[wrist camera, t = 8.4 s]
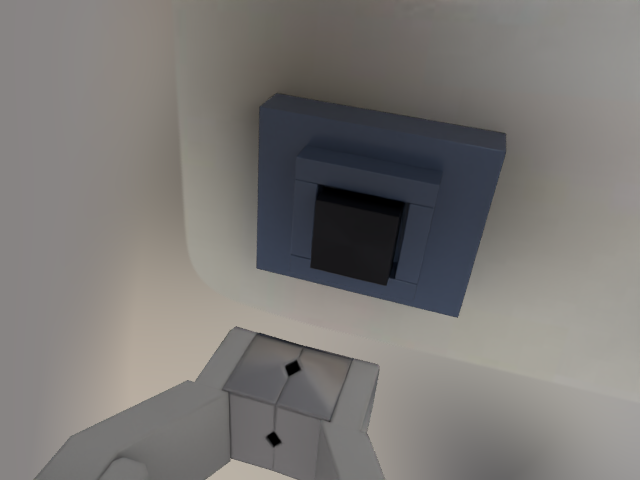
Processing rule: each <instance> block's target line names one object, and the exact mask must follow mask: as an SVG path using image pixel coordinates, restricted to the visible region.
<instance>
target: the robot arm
mask: <svg viewBox="0 0 640 480" xmlns="http://www.w3.org/2000/svg"><path fill="white" fill-rule="evenodd" d="M378 375H379V365H378V364H374V363H370V362H366V361H362V360H358V359H354V358H350V357H346V356H342V355H339V354H335V353H331V352H327V351H323V350H319V349H315V348H311V347H307V346H303V345H299V344H296V343H292V342H289V341H286V340H282V339H279V338H276V337H272V336H269V335H265V334H262V333H257V332H253V331H250V330H247V329H243V328H240V327H237V326H236V327H234V328H233V329H232V330H230V331H229V333H228V334H227V336H226V337H225V339H224V340H223V341H222V343H221V344H220V346H219V347H218V349H217V350H216V352H215V353H214V355H213V356H212V357H211V359H210V360H209V362H208V363H207V365H206V366H205V368H204V369H203V370H202V372H201V373H200V375H199V376H198V378H197V379H196V381H195V382H192V381H188V380H187V381H185V382H183V383H181V384H179V385H177V386H175V387H172V388H171V389H168V390H166V391H164V392H162V393H160V394H158V395H156V396H154V397H152V398H150V399H148V400H145V401H143V402H141V403H139V404H137V405H135V406H133V407H131V408H129V409H127V410H125V411H123V412H120V413H118V414H116V415H114V416H112V417H110V418H108V419H106V420H104V421H102V422H99V423H97V424H95V425H93V426H91V427H89V428H87V429H85V430H83V431H81V432H79V433H77V434H75V435H72V436H71V437H70V438H69V439H68V440H67V441H66V442H65V444H64V445H63V446H62V447H61V448H60V449H59V451H58V452H57V453H56V454H55V455H54V457H53V458H52V459H51V460H50V461H49V462H48V464H47V465H46V466H45V467H44V468H43V469H42V470H41V472H40V473H39V474H38V475H37V476H36V477H35V478H34V480H205V479H207V478H208V477H209V476H211V475H212V474H214V473H215V472H216V471H218V470H219V469H220V468H222V467H223V466H224V465H226V464H227V463H228V462H230V458H231V459H235V460H238V461H242V462H245V463H249V464H252V465H255V466H259V467H262V468H266V469H269V470H272V471H275V472H278V473H281V474H283V475H286V476H289V477H292V478H295V479H297V480H385V477H384V475H383V472H382V469H381V467H380V464H379V461H378V459H377V456H376V454H375V451H374V449H373V446H372V444H371V441H370V438H369V436H368V434H367V431H368V426H369V422H370V417H371V412H372V408H373V402H374V397H375V391H376V386H377V380H378Z"/></svg>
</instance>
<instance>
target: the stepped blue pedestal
mask: <svg viewBox="0 0 640 480" xmlns="http://www.w3.org/2000/svg"><path fill="white" fill-rule="evenodd" d="M505 154H506V134H505V133H500V132H494V131H489V130H483V129H477V128H472V127H466V126H460V125H454V124H449V123H443V122H437V121H432V120H426V119H420V118H415V117H409V116H403V115H397V114H392V113H386V112H380V111H375V110H369V109H363V108H357V107H352V106H346V105H340V104H335V103H329V102H323V101H318V100H312V99H306V98H300V97H295V96H289V95H283V94H278V93H276V94H275V95H273V96H272V97H271V98H270V99H268V100H267V101H266V102H265V103H263V104H262V105H261V106H260V112H259V164H258V216H257V269H261V270H265V271H269V272H273V273H277V274H282V275H286V276H290V277H294V278H298V279H302V280H306V281H310V282H314V283H318V284H322V285H326V286H330V287H335V288H339V289H343V290H347V291H351V292H355V293H359V294H363V295H367V296H371V297H375V298H379V299H383V300H388V301H392V302H396V303H400V304H404V305H408V306H412V307H416V308H420V309H424V310H428V311H432V312H436V313H441V314H445V315H449V316H453V317H457V318H458V316H459V313H460V309H461V306H462V302H463V299H464V295H465V292H466V289H467V285H468V282H469V278H470V275H471V271H472V268H473V264H474V261H475V258H476V254H477V251H478V247H479V244H480V240H481V237H482V233H483V230H484V227H485V223H486V220H487V216H488V213H489V209H490V206H491V202H492V199H493V196H494V192H495V189H496V185H497V182H498V178H499V175H500V172H501V168H502V165H503V161H504V158H505ZM324 187H329V188H334V189H339V190H344V191H349V192H353V193H358V194H363V195H368V196H373V197H378V198H382V199H387V200H392V201H397V202H402V203H404V207H403V212H402V218H401V223H400V228H399V234H398V239H397V244H396V249H395V255H394V260H393V265H392V270H391V273H390V276H389V280H388V283H387V285H386V286H383V285H379V284H375V283H371V282H367V281H363V280H358V279H354V278H350V277H346V276H342V275H338V274H333V273H329V272H325V271H321V270H317V269H313V268H310V263H311V252H312V240H313V229H314V217H315V205H316V199H317V198H318V196H319V195H320V193H321V192H322V190H323V189H324Z"/></svg>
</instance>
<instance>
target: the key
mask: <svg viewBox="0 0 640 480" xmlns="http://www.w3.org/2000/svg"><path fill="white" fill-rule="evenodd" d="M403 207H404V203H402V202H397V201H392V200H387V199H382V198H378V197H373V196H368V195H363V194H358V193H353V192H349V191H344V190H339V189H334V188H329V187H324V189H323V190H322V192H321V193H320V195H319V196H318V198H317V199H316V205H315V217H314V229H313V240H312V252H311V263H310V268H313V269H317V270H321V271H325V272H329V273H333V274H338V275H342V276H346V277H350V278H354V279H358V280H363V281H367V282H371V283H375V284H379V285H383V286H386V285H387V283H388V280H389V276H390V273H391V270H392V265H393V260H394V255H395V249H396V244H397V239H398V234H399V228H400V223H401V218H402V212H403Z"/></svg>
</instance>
